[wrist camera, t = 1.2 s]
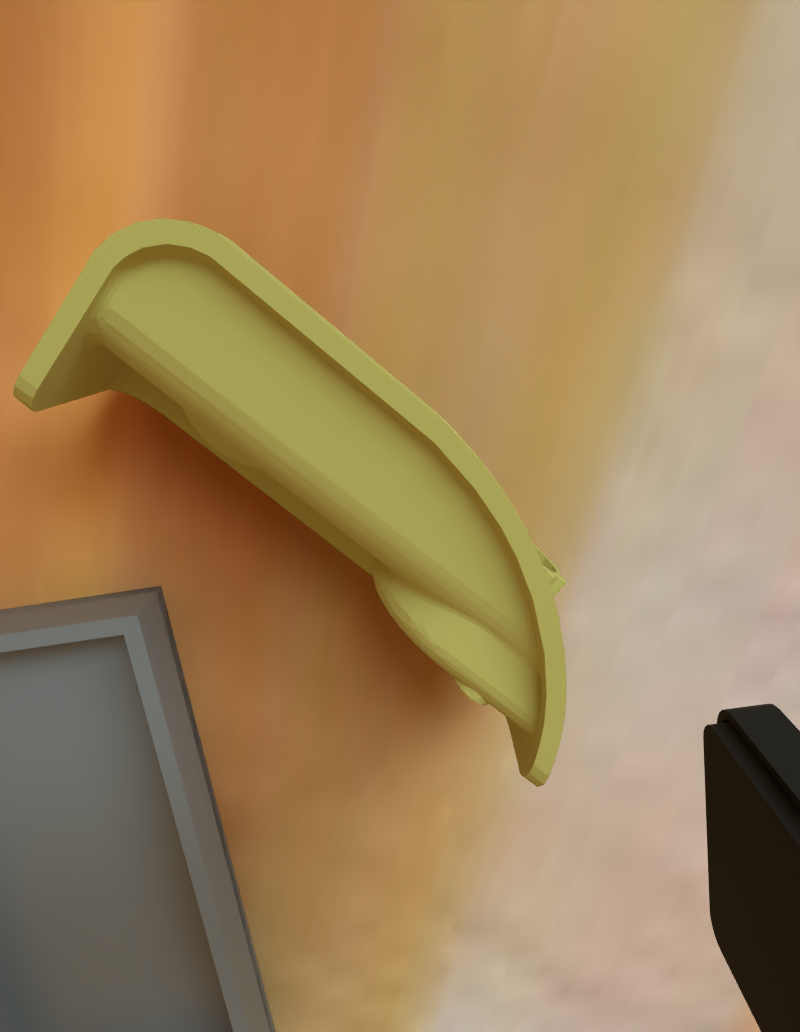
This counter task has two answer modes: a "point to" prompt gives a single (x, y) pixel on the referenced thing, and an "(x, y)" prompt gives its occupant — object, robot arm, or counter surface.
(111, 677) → the tray
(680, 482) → the counter surface
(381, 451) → the plastic component
